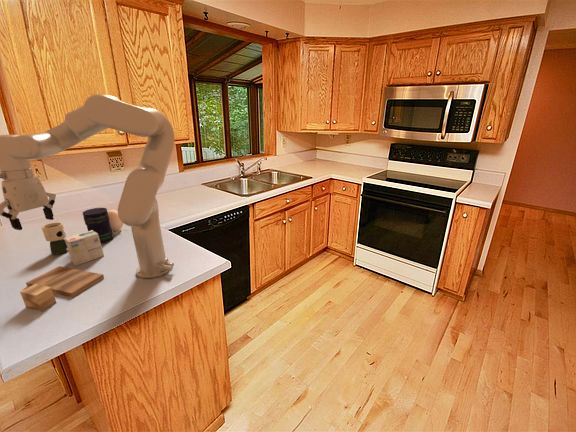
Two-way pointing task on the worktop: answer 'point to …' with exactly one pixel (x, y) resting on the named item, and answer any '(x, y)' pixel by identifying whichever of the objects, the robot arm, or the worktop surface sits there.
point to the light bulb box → (84, 247)
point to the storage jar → (99, 223)
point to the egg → (115, 220)
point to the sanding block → (38, 297)
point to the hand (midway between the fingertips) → (34, 224)
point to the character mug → (55, 237)
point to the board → (67, 280)
